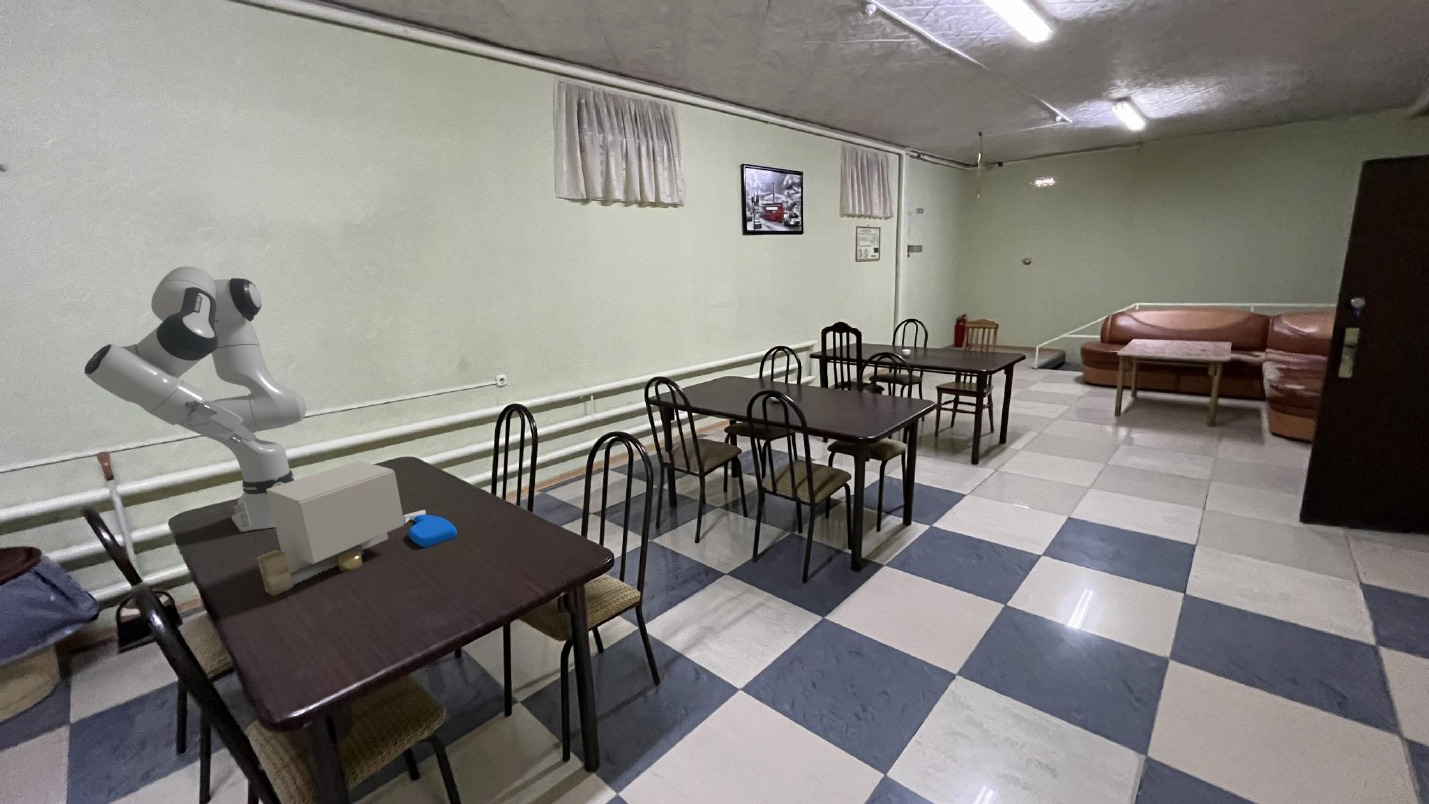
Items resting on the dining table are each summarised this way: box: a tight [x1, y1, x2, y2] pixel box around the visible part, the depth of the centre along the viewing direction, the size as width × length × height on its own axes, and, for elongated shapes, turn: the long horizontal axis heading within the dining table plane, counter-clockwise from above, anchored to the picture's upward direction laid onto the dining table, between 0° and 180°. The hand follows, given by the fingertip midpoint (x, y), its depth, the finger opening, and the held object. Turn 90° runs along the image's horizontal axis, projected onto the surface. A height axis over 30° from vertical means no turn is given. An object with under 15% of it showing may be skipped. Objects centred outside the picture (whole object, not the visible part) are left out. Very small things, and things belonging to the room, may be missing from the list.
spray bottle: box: [403, 509, 458, 548], centre depth 162 cm, size 3×11×24 cm
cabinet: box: [266, 460, 405, 573], centre depth 144 cm, size 17×22×22 cm
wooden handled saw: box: [256, 545, 365, 597], centre depth 139 cm, size 4×21×9 cm, turn 150°
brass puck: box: [337, 551, 364, 572], centre depth 142 cm, size 5×5×3 cm
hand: (246, 440), depth 131 cm, fingers open, 8 cm apart
